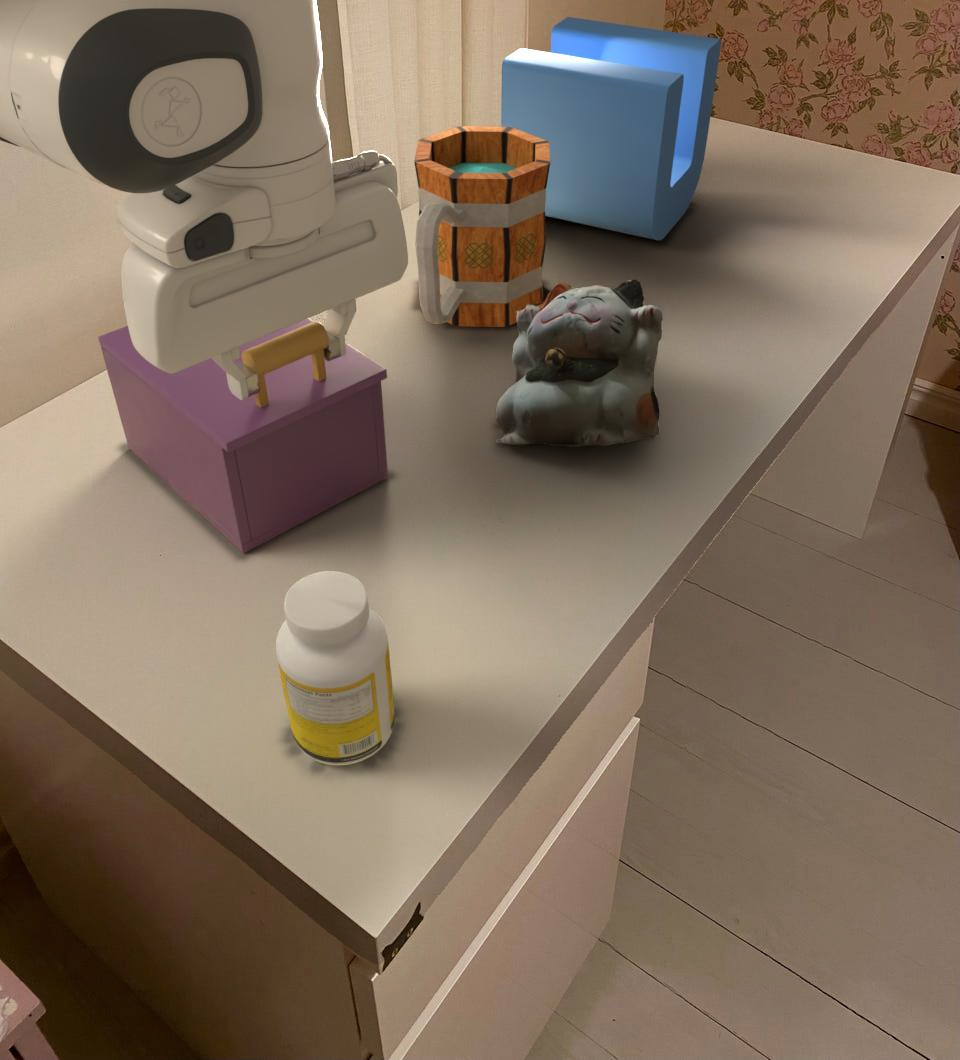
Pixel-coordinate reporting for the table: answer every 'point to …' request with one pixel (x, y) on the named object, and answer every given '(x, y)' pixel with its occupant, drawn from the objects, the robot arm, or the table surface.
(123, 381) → the box
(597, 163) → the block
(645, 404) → the lucky cat figurine
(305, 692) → the pill bottle
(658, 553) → the table surface
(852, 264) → the table surface
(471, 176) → the wooden beer tankard
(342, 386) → the lid
